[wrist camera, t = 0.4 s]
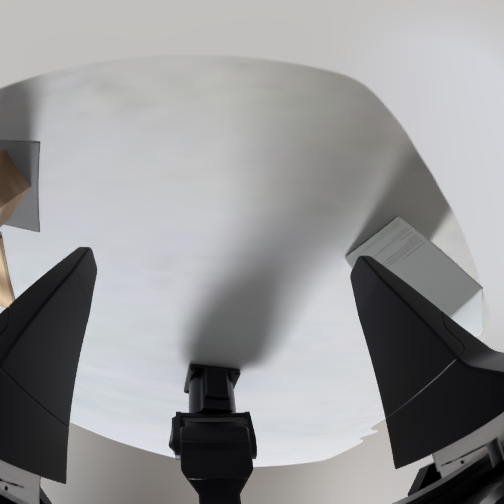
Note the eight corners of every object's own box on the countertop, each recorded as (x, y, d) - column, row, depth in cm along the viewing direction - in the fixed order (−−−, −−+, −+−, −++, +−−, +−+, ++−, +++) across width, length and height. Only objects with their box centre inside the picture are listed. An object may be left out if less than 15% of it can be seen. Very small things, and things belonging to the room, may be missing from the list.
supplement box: (368, 296, 30) (422, 382, 20) (342, 255, 27) (406, 352, 16) (418, 259, 29) (484, 332, 18) (399, 212, 25) (485, 287, 14)
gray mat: (39, 231, 21) (39, 232, 21) (-16, 219, 19) (-17, 219, 19) (39, 142, 17) (39, 143, 17) (-20, 140, 15) (-20, 140, 15)
